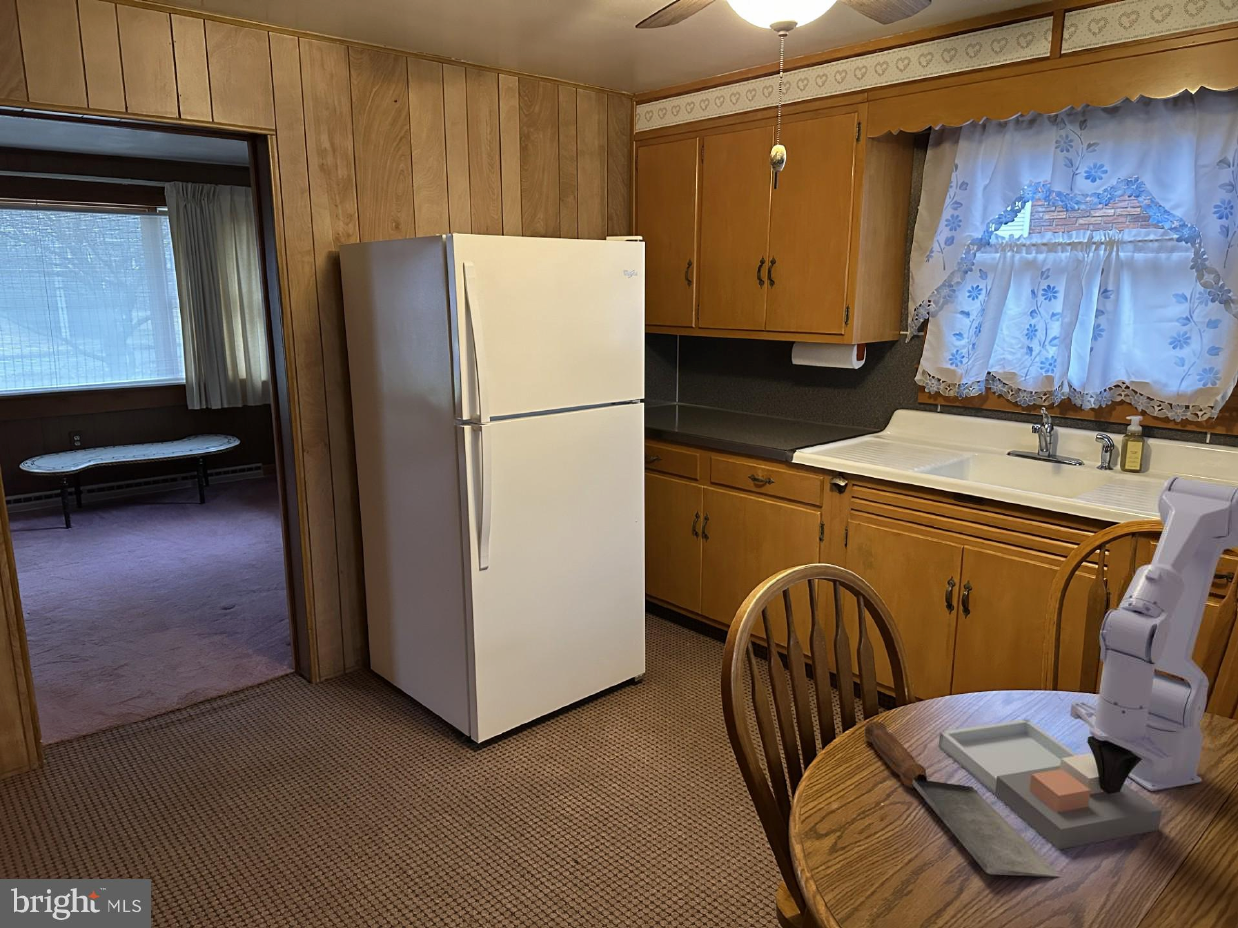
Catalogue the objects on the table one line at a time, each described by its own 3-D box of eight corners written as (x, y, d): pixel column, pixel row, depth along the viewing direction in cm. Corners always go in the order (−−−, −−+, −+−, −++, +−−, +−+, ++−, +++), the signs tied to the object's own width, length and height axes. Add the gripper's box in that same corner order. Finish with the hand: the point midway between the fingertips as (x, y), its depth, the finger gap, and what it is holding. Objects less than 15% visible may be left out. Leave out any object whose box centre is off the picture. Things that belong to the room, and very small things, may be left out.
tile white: (1087, 768, 120) (1089, 753, 120) (1116, 788, 116) (1119, 772, 115) (1058, 774, 119) (1061, 758, 118) (1087, 794, 114) (1089, 778, 114)
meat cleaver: (1068, 877, 103) (1072, 848, 102) (984, 887, 101) (988, 857, 100) (924, 735, 136) (926, 712, 135) (859, 741, 134) (860, 718, 133)
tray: (1024, 732, 135) (1026, 718, 135) (1088, 778, 123) (1090, 763, 123) (938, 746, 131) (939, 731, 131) (994, 794, 119) (996, 779, 119)
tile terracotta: (1059, 784, 116) (1062, 768, 116) (1088, 806, 112) (1090, 789, 111) (1029, 790, 115) (1031, 773, 115) (1056, 812, 110) (1059, 795, 110)
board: (1088, 778, 123) (1090, 760, 122) (1158, 829, 112) (1162, 809, 111) (994, 794, 119) (997, 775, 118) (1058, 849, 108) (1061, 828, 107)
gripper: (1057, 676, 117) (1045, 764, 119) (1146, 730, 103) (1130, 828, 106) (1099, 671, 118) (1086, 757, 121) (1192, 722, 105) (1175, 819, 108)
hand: (1110, 790), depth 114 cm, fingers closed
